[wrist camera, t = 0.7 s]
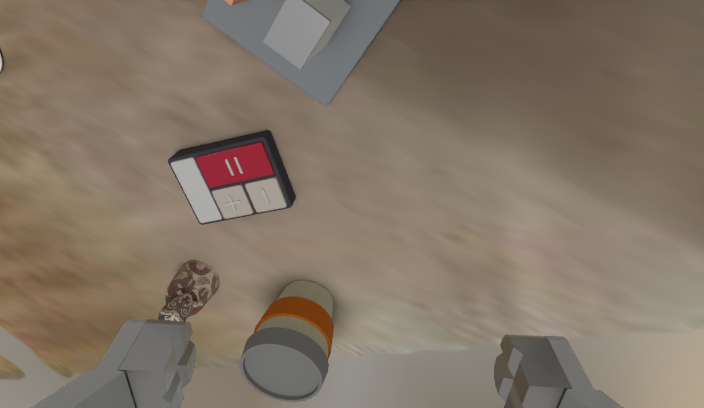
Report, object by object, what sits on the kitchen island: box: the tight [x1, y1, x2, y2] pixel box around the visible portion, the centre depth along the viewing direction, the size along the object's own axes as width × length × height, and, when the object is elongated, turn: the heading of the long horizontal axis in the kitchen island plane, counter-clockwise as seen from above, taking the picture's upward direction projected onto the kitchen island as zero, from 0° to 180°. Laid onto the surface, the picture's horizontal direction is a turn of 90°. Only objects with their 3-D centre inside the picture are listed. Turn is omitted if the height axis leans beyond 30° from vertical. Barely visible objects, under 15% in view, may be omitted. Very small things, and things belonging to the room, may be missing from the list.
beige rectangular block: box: [263, 0, 351, 70], centre depth 45 cm, size 5×4×12 cm
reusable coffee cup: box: [240, 280, 334, 402], centre depth 69 cm, size 13×13×15 cm
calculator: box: [168, 130, 296, 225], centre depth 64 cm, size 11×4×15 cm
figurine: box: [158, 260, 219, 322], centre depth 72 cm, size 7×7×12 cm
